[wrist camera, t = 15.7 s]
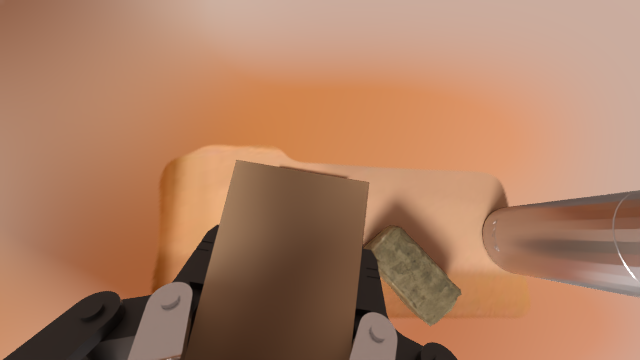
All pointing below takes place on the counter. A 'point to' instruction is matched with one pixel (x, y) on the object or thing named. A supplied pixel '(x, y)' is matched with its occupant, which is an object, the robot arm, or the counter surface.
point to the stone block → (413, 275)
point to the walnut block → (282, 268)
